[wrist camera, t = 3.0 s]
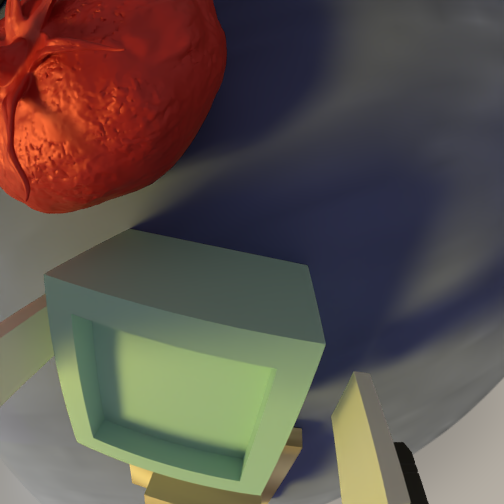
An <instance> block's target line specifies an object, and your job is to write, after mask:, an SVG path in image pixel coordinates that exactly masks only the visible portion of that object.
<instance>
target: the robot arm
mask: <svg viewBox="0 0 504 504" xmlns="http://www.w3.org/2000/svg"><path fill="white" fill-rule="evenodd" d="M2 2H3V0H0V5H1V3H2ZM53 356H54V351H53V345H52V339H51V333H50V326H49V319H48V312H47V303H46V294H44V295H43V296H41V297H39V298H38V299H36V300H35V301H33V302H31V303H30V304H28V305H27V306H25V307H24V308H22V309H20V310H19V311H17V312H16V313H14V314H13V315H11V316H10V317H8V318H7V319H5V320H4V321H2V322H1V323H0V407H1V406H2V405H3V404H4V403H5V402H6V401H7V400H8V399H9V398H10V397H11V396H12V395H13V394H14V393H15V392H16V391H17V390H18V389H19V388H20V387H21V386H22V385H23V384H24V383H25V382H26V381H27V380H28V379H29V378H30V377H32V376H33V375H34V374H35V373H36V372H37V371H38V370H39V369H40V368H41V367H42V366H43V365H44V364H45V363H46V362H47V361H49V360H50V359H51V358H52V357H53ZM331 419H332V425H333V433H334V440H335V447H336V455H337V463H338V471H339V479H340V488H341V497H342V504H429V503H428V501H427V498H426V495H425V491H424V488H423V485H422V482H421V479H420V476H419V473H417V472H418V470H417V467H416V465H415V461H414V458H413V455H412V452H411V451H410V450H409V448H408V447H407V446H406V445H405V444H404V442H393V440H392V437H391V434H390V431H389V428H388V425H387V422H386V419H385V416H384V413H383V410H382V407H381V404H380V401H379V398H378V395H377V392H376V390H375V387H374V384H373V381H372V378H371V376H370V374H369V373H362V372H355V371H354V372H353V374H352V376H351V378H350V380H349V382H348V384H347V386H346V388H345V390H344V392H343V394H342V396H341V398H340V400H339V402H338V404H337V406H336V408H335V410H334V412H333V414H332V416H331Z"/></svg>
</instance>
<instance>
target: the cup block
mask: <svg viewBox="0 0 504 504" xmlns="http://www.w3.org/2000/svg"><path fill="white" fill-rule="evenodd" d="M44 283H45V294H46V303H47V312H48V319H49V326H50V333H51V339H52V345H53V351H54V356H55V361H56V366H57V371H58V375H59V380H60V384H61V388H62V392H63V396H64V400H65V403H66V407H67V411H68V414H69V418H70V421H71V424H72V427H73V431H74V434H75V437H76V440H77V442H78V443H80V444H83V445H85V446H87V447H89V448H91V449H94V450H96V451H98V452H101V453H103V454H105V455H108V456H110V457H113V458H115V459H118V460H121V461H123V462H126V463H129V464H131V465H134V466H137V467H140V468H143V469H146V470H149V471H152V472H155V473H158V474H162V475H165V476H168V477H172V478H175V479H179V480H183V481H187V482H191V483H195V484H199V485H203V486H208V487H212V488H217V489H222V490H228V491H233V492H239V493H245V494H252V495H259V496H261V494H262V492H263V490H264V488H265V486H266V484H267V482H268V480H269V478H270V476H271V474H272V472H273V470H274V468H275V466H276V464H277V461H278V459H279V457H280V455H281V453H282V451H283V449H284V446H285V444H286V442H287V440H288V438H289V435H290V433H291V431H292V429H293V426H294V424H295V422H296V419H297V417H298V415H299V412H300V410H301V408H302V405H303V403H304V400H305V398H306V395H307V393H308V390H309V388H310V385H311V383H312V380H313V378H314V375H315V372H316V370H317V367H318V364H319V362H320V359H321V356H322V354H323V351H324V348H325V345H326V342H325V338H324V333H323V328H322V324H321V319H320V315H319V310H318V306H317V302H316V297H315V293H314V289H313V284H312V280H311V276H310V272H309V268H308V265H303V264H298V263H293V262H289V261H284V260H279V259H274V258H269V257H264V256H259V255H254V254H250V253H245V252H240V251H235V250H230V249H225V248H221V247H216V246H211V245H206V244H201V243H196V242H192V241H187V240H182V239H177V238H172V237H167V236H163V235H158V234H153V233H148V232H143V231H139V230H134V229H128V230H126V231H124V232H122V233H120V234H118V235H116V236H114V237H112V238H110V239H108V240H106V241H104V242H102V243H100V244H98V245H96V246H95V247H93V248H91V249H89V250H87V251H85V252H83V253H81V254H79V255H78V256H76V257H74V258H72V259H70V260H68V261H67V262H65V263H63V264H61V265H59V266H57V267H56V268H54V269H52V270H50V271H49V272H47V273H45V274H44Z"/></svg>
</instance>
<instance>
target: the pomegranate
mask: <svg viewBox="0 0 504 504" xmlns="http://www.w3.org/2000/svg"><path fill="white" fill-rule="evenodd" d="M226 58H227V49H226V37H225V33H224V31H223V29H222V27H221V25H220V23H219V21H218V19H217V15H216V10H215V7H214V4H213V0H21V1H20V0H7V3H6V10H5V17H4V18H3V19H1V20H0V187H1V188H2V189H3V190H4V191H5V192H6V193H7V194H9V195H10V196H11V197H13V198H15V199H16V200H19V201H21V202H23V203H25V204H26V205H27V206H29V207H30V208H32V209H34V210H37V211H40V212H43V213H49V214H50V213H68V212H73V211H77V210H79V209H84V208H89V207H92V206H94V205H98V204H100V203H102V202H105V201H108V200H110V199H114V198H117V197H120V196H123V195H126V194H129V193H131V192H135V191H137V190H140V189H142V188H144V187H146V186H148V185H150V184H152V183H154V182H155V181H156V180H157V179H159V178H160V177H161V176H163V175H164V174H165V173H166V172H167V171H168V170H170V169H171V168H172V167H173V166H174V165H175V163H176V162H177V161H178V160H179V159H180V158H181V156H182V155H183V154H184V152H185V151H186V149H187V148H188V147H189V145H190V144H191V142H192V141H193V139H194V138H195V136H196V134H197V133H198V131H199V129H200V127H201V125H202V124H203V122H204V120H205V118H206V116H207V114H208V112H209V110H210V108H211V106H212V103H213V100H214V98H215V96H216V93H217V92H218V90H219V88H220V86H221V83H222V81H223V76H224V71H225V68H226Z"/></svg>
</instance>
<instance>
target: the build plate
mask: <svg viewBox="0 0 504 504" xmlns="http://www.w3.org/2000/svg"><path fill="white" fill-rule="evenodd" d="M301 449H302V429H301V428H294V427H293V429H292V431H291V433H290V435H289V438H288V440H287V442H286V444H285V446H284V449H283V451H282V453H281V455H280V457H279V459H278V461H277V464H276V466H275V468H274V470H273V472H272V474H271V476H270V478H269V480H268V482H267V484H266V486H265V488H264V490H263V492H262V494H261V496H259V495H252V494H245V493H239V492H233V491H228V490H222V489H217V488H212V487H208V486H203V485H199V484H195V483H191V482H187V481H183V480H179V479H175V478H172V477H168V476H165V475H162V474H158V473H155V472H152V471H149V470H146V469H143V468H140V467H137V466H134V465H131V464H130V470H131V477H132V483H134V484H137V485H140V486H142V487H145V488H147V489H146V492H145V494H144V497H145V504H268V502H269V501H270V499H271V498H272V496H273V495H274V493H275V492H276V490H277V489H278V487H279V486H280V484H281V482H282V481H283V479H284V478H285V476H286V474H287V473H288V471H289V470H290V468H291V466H292V465H293V463H294V461H295V460H296V458H297V456H298V454H299V453H300V451H301Z"/></svg>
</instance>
